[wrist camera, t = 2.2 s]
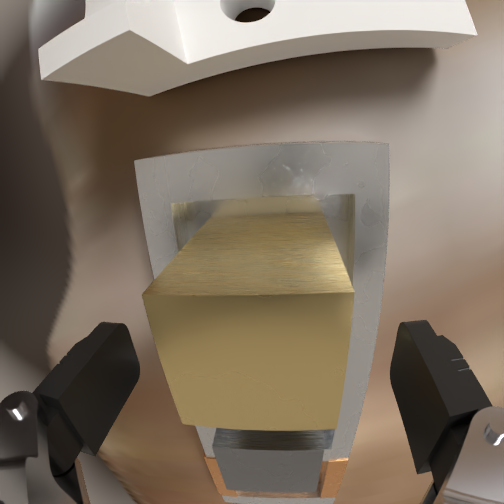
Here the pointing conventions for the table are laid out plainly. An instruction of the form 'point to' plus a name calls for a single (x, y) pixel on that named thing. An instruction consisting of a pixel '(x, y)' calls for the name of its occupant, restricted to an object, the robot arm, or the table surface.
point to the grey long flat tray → (284, 202)
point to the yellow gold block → (255, 324)
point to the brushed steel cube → (269, 459)
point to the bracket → (234, 37)
